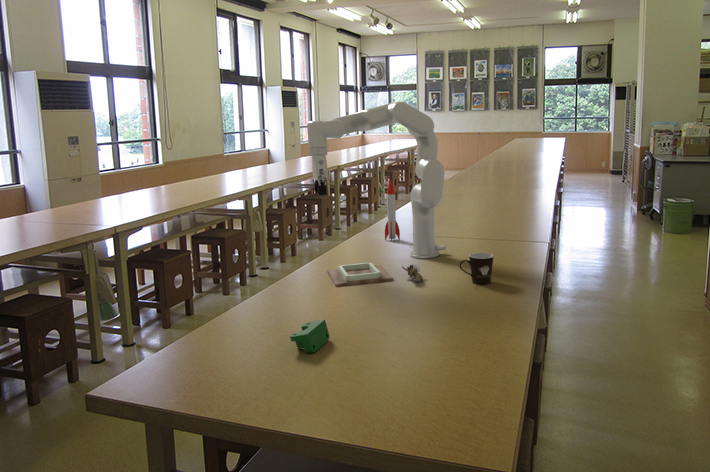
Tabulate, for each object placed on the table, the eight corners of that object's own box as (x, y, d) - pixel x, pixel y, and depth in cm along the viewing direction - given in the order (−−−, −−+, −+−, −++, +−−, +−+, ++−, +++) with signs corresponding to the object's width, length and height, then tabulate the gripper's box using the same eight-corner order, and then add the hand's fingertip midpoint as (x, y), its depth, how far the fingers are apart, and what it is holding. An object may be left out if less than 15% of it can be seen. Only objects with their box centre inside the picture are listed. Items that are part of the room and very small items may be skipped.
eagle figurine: (397, 275, 213) (403, 277, 204) (405, 259, 213) (412, 260, 205) (414, 284, 214) (421, 287, 205) (422, 268, 215) (430, 269, 206)
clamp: (312, 355, 158) (309, 322, 161) (330, 352, 156) (327, 319, 158) (289, 355, 148) (286, 320, 150) (308, 352, 146) (305, 317, 148)
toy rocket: (400, 240, 278) (398, 180, 272) (391, 242, 275) (389, 181, 269) (393, 238, 282) (391, 179, 276) (384, 240, 279) (382, 180, 273)
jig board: (380, 267, 230) (380, 260, 229) (393, 280, 211) (393, 272, 210) (327, 272, 226) (327, 265, 225) (335, 286, 207) (335, 278, 206)
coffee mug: (494, 279, 206) (494, 253, 204) (492, 286, 198) (492, 258, 196) (462, 278, 209) (462, 252, 207) (459, 284, 202) (458, 257, 199)
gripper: (331, 152, 219) (333, 195, 223) (323, 150, 236) (325, 190, 239) (312, 153, 218) (315, 197, 221) (305, 151, 234) (308, 192, 238)
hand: (320, 193), depth 230 cm, fingers open, 9 cm apart
